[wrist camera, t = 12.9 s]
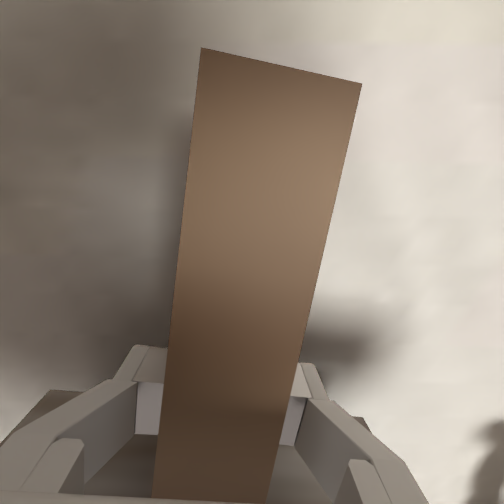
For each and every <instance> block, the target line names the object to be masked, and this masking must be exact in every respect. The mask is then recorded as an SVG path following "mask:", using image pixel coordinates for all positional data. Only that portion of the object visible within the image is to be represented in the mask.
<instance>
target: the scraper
mask: <svg viewBox="0 0 504 504" xmlns="http://www.w3.org/2000/svg"><path fill="white" fill-rule="evenodd" d="M361 87H362V84H361V83H357V82H352V81H348V80H344V79H339V78H335V77H330V76H326V75H321V74H317V73H312V72H308V71H304V70H299V69H295V68H290V67H286V66H281V65H277V64H272V63H268V62H264V61H259V60H255V59H250V58H246V57H241V56H237V55H232V54H228V53H224V52H219V51H215V50H210V49H206V48H201V54H200V63H199V72H198V81H197V90H196V99H195V108H194V117H193V126H192V135H191V143H190V152H189V161H188V170H187V179H186V188H185V197H184V206H183V215H182V224H181V233H180V242H179V251H178V260H177V269H176V278H175V287H174V296H173V305H172V314H171V323H170V332H169V341H168V350H167V359H166V368H165V377H164V386H163V395H162V404H161V413H160V422H159V431H158V435H149V434H134V436H133V437H132V438H131V439H130V440H129V441H128V442H127V443H126V444H125V445H124V446H123V447H122V448H121V449H120V450H119V451H118V452H117V453H116V454H115V455H114V456H113V457H112V458H111V459H110V460H109V461H108V462H107V463H106V464H105V465H104V466H103V467H102V468H101V469H100V470H99V471H98V472H97V473H96V474H95V475H94V476H93V477H92V478H90V479H89V480H88V481H87V482H86V483H85V484H84V495H102V496H121V497H140V498H158V499H177V500H195V501H214V502H233V503H251V504H333V503H332V502H331V500H330V499H329V497H328V496H327V494H326V493H325V492H324V490H323V489H322V487H321V486H320V484H319V483H318V481H317V480H316V478H315V477H314V475H313V474H312V473H311V471H310V470H309V468H308V467H307V465H306V464H305V462H304V461H303V459H302V458H301V456H300V455H299V454H298V452H297V451H296V449H295V448H294V447H295V446H289V445H280V444H279V442H280V438H281V434H282V429H283V425H284V421H285V416H286V412H287V408H288V403H289V399H290V395H291V390H292V386H293V382H294V377H295V373H296V369H297V364H298V360H299V356H300V351H301V347H302V343H303V338H304V334H305V330H306V325H307V321H308V317H309V312H310V308H311V304H312V299H313V295H314V291H315V286H316V282H317V278H318V273H319V269H320V265H321V260H322V256H323V252H324V247H325V243H326V239H327V234H328V230H329V226H330V221H331V217H332V213H333V208H334V204H335V200H336V195H337V191H338V187H339V182H340V178H341V174H342V169H343V165H344V161H345V156H346V152H347V148H348V143H349V139H350V135H351V130H352V126H353V122H354V117H355V113H356V108H357V104H358V100H359V95H360V91H361ZM82 393H83V392H72V391H61V390H50V391H49V392H48V393H47V394H46V395H45V396H44V397H43V398H42V399H41V400H40V401H39V402H38V403H37V405H36V406H35V407H34V408H33V409H32V410H31V411H30V412H29V413H28V414H27V415H26V416H25V417H24V419H23V420H22V421H21V422H20V423H19V424H18V425H17V426H16V427H15V428H14V429H13V430H12V431H11V433H10V434H9V435H8V436H7V437H6V438H5V439H4V440H3V441H2V442H1V443H0V447H1V446H2V445H3V444H4V443H5V442H6V441H7V439H8V438H9V437H10V436H11V435H12V434H13V433H14V432H15V431H17V430H19V429H21V428H22V427H24V426H26V425H28V424H29V423H31V422H33V421H35V420H36V419H38V418H40V417H42V416H43V415H45V414H47V413H49V412H50V411H52V410H54V409H56V408H58V407H59V406H61V405H63V404H65V403H66V402H68V401H70V400H72V399H73V398H75V397H77V396H79V395H80V394H82ZM352 417H353V416H352ZM353 418H354V419H355V420H357V421H358V422H359V423H360V424H361V425H362V426H364V427H365V428H366V429H367V430H368V431H369V432H370V433H371V431H370V429H369V427H368V426H367V424H366V422H365V420H364V419H363V417H353Z"/></svg>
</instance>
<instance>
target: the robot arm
mask: <svg viewBox="0 0 504 504" xmlns="http://www.w3.org/2000/svg"><path fill="white" fill-rule="evenodd" d="M167 350H168V348H163V347H155V346H147V345H138V344H136V345H134V346H133V347H132V349H131V350H130V352H129V353H128V355H127V357H126V358H125V360H124V362H123V363H122V365H121V366H120V368H119V370H118V371H117V373H116V374H115V376H114V378H113V379H112V380H111V379H107V380H105V381H103V382H102V383H100V384H98V385H96V386H94V387H93V388H91V389H89V390H87V391H86V392H84V393H82V394H80V395H79V396H77V397H75V398H73V399H72V400H70V401H68V402H66V403H65V404H63V405H61V406H59V407H58V408H56V409H54V410H52V411H50V412H49V413H47V414H45V415H43V416H42V417H40V418H38V419H36V420H35V421H33V422H31V423H29V424H28V425H26V426H24V427H22V428H21V429H19V430H17V431H15V432H14V433H13V434H12V435H11V436H10V437H9V438H8V439H7V441H6V442H5V443H4V444H3V445H2V446H1V447H0V504H251V503H233V502H214V501H195V500H177V499H158V498H140V497H121V496H102V495H84V484H85V483H86V482H87V481H88V480H89V479H90V478H92V477H93V476H94V475H95V474H96V473H97V472H98V471H99V470H100V469H101V468H102V467H103V466H104V465H105V464H106V463H107V462H108V461H109V460H110V459H111V458H112V457H113V456H114V455H115V454H116V453H117V452H118V451H119V450H120V449H121V448H122V447H123V446H124V445H125V444H126V443H127V442H128V441H129V440H130V439H131V438H132V437H133V436H134V434H149V435H158V431H159V422H160V413H161V404H162V395H163V386H164V377H165V368H166V359H167ZM279 444H280V445H289V446H295V447H294V448H295V449H296V451H297V452H298V454H299V455H300V456H301V458H302V459H303V461H304V462H305V464H306V465H307V467H308V468H309V470H310V471H311V473H312V474H313V475H314V477H315V478H316V480H317V481H318V483H319V484H320V486H321V487H322V489H323V490H324V492H325V493H326V494H327V496H328V497H329V499H330V500H331V502H332V503H333V504H429V503H428V501H427V499H426V498H425V496H424V494H423V493H422V491H421V489H420V488H419V486H418V484H417V482H416V481H415V479H414V477H413V476H412V474H411V472H410V471H409V469H408V467H407V465H406V464H405V462H404V461H403V460H402V459H401V458H399V457H398V456H397V455H396V454H395V453H394V452H392V451H391V450H390V449H389V448H388V447H387V446H385V445H384V444H383V443H382V442H381V441H380V440H379V439H377V438H376V437H375V436H374V435H373V434H372V433H370V432H369V431H368V430H367V429H366V428H365V427H364V426H362V425H361V424H360V423H359V422H358V421H357V420H355V419H354V418H353V417H352V416H351V415H350V414H348V413H347V412H346V411H345V410H344V409H343V408H342V407H340V406H339V405H338V404H337V403H336V402H335V401H331V400H329V398H328V396H327V393H326V391H325V389H324V386H323V384H322V381H321V379H320V377H319V374H318V372H317V370H316V367H315V365H314V364H313V363H301V362H299V363H298V364H297V369H296V373H295V377H294V382H293V386H292V390H291V395H290V399H289V403H288V408H287V412H286V416H285V421H284V425H283V429H282V434H281V438H280V442H279Z"/></svg>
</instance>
